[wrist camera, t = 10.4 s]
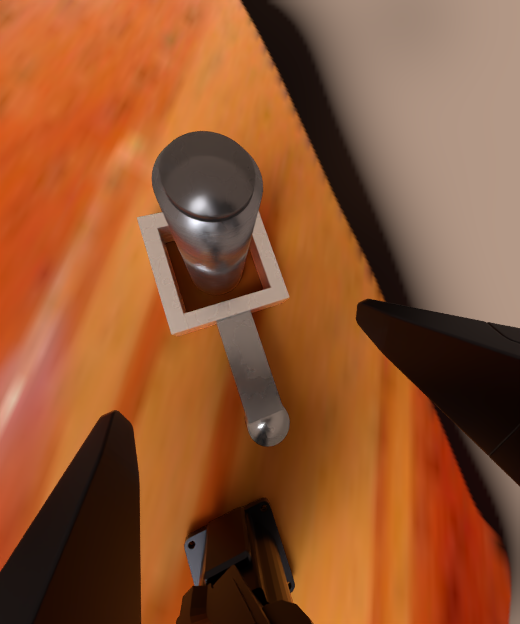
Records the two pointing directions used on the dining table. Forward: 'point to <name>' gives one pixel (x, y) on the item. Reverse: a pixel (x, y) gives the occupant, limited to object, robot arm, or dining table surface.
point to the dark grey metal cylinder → (209, 205)
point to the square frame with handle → (230, 325)
